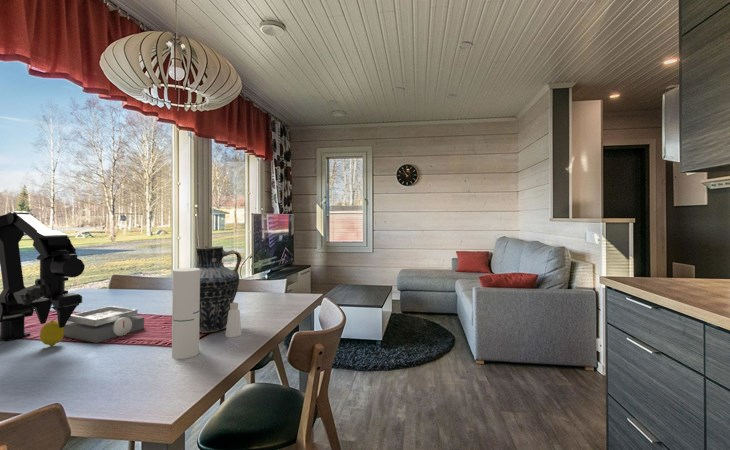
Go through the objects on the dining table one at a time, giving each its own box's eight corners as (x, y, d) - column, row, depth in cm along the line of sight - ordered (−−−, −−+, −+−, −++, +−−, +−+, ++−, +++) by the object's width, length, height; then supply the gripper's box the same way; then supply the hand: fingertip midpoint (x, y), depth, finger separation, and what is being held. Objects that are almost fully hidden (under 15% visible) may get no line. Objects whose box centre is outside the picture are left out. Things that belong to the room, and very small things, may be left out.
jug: (187, 342, 112) (188, 249, 111) (172, 327, 126) (173, 245, 126) (249, 330, 125) (250, 247, 125) (229, 318, 140) (230, 243, 140)
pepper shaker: (244, 332, 122) (245, 301, 122) (237, 338, 117) (238, 305, 117) (230, 332, 123) (230, 301, 123) (222, 337, 117) (222, 304, 117)
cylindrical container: (204, 351, 105) (205, 268, 104) (185, 360, 98) (186, 272, 97) (186, 348, 107) (187, 267, 107) (166, 356, 100) (166, 270, 100)
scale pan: (67, 321, 117) (67, 315, 116) (110, 311, 130) (111, 305, 130) (95, 326, 112) (95, 320, 112) (137, 315, 125) (137, 309, 125)
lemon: (49, 350, 103) (49, 323, 103) (35, 348, 104) (35, 322, 104) (69, 344, 109) (69, 318, 109) (54, 342, 110) (54, 317, 110)
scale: (60, 335, 116) (60, 317, 116) (110, 322, 131) (110, 306, 131) (98, 343, 110) (98, 324, 110) (146, 328, 125) (146, 312, 125)
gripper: (0, 276, 102) (-1, 329, 102) (38, 281, 96) (38, 337, 96) (45, 271, 112) (45, 319, 113) (83, 275, 106) (83, 326, 106)
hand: (52, 325), depth 107 cm, fingers open, 9 cm apart
